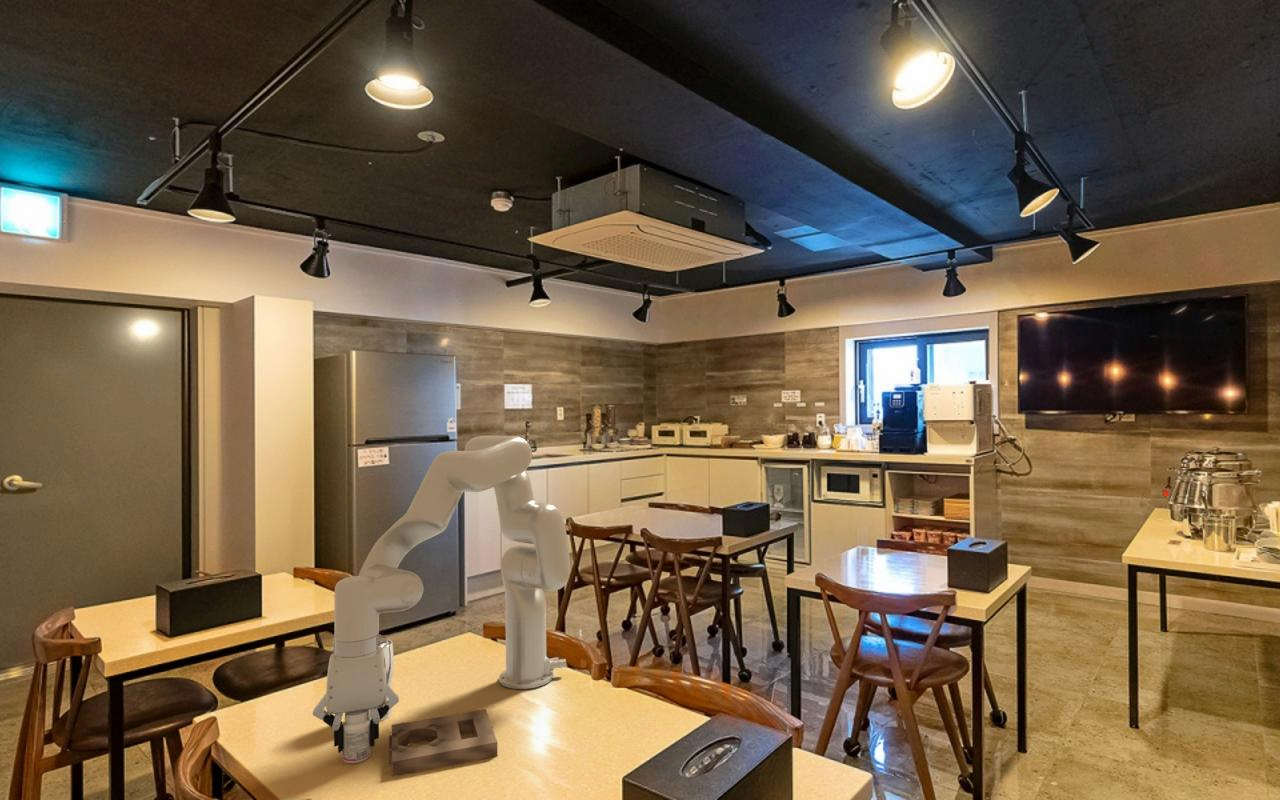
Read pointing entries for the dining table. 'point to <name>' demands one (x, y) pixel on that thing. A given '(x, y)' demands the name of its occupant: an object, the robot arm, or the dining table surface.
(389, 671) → the beer glass
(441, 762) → the socket plate
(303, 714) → the dining table surface
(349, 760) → the pill bottle
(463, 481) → the robot arm
